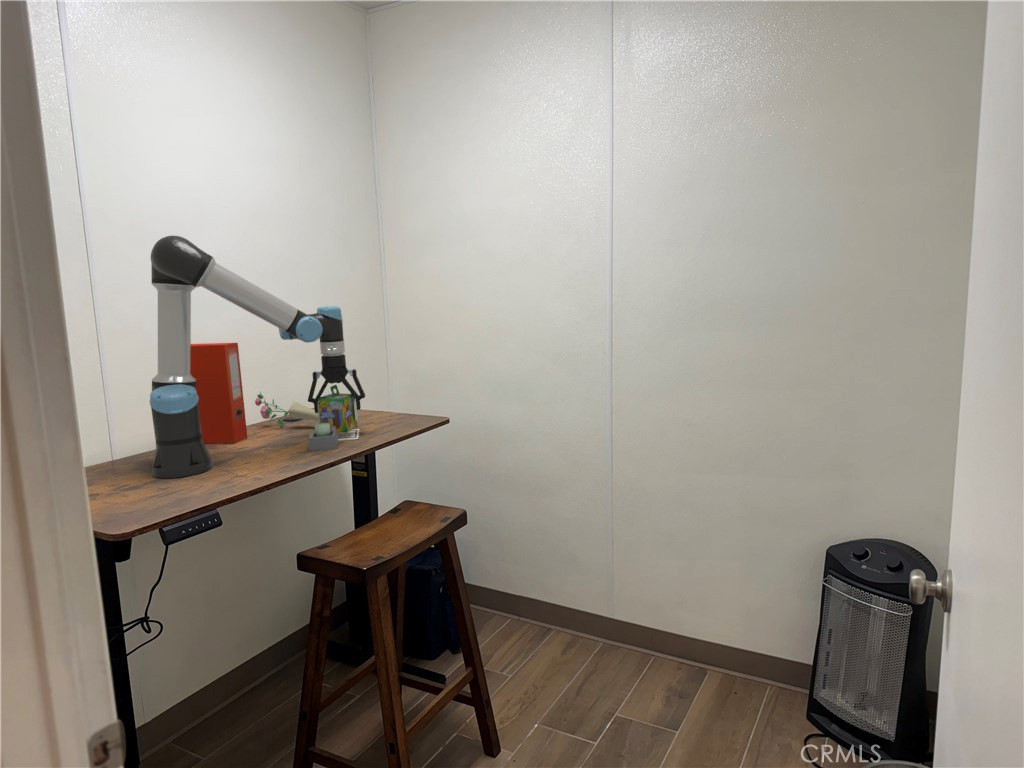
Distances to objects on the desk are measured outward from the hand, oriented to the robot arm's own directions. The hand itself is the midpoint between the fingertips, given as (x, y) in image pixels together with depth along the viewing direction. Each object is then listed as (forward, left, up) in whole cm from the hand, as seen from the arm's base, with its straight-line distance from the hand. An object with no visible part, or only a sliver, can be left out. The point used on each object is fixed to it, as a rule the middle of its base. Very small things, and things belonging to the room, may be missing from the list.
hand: (338, 421), depth 220 cm
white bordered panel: (0, 0, -5) cm, 5 cm away
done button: (-4, -13, -2) cm, 14 cm away
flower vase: (-15, +18, -5) cm, 24 cm away
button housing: (-4, -13, -5) cm, 14 cm away
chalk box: (0, 0, -3) cm, 3 cm away
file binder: (-40, +8, -5) cm, 41 cm away
